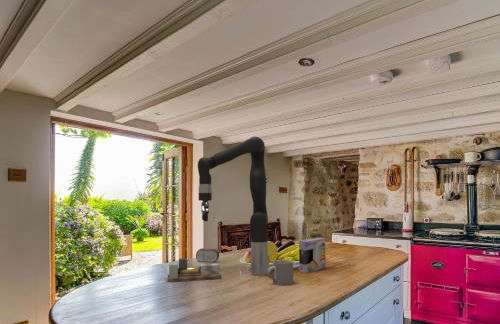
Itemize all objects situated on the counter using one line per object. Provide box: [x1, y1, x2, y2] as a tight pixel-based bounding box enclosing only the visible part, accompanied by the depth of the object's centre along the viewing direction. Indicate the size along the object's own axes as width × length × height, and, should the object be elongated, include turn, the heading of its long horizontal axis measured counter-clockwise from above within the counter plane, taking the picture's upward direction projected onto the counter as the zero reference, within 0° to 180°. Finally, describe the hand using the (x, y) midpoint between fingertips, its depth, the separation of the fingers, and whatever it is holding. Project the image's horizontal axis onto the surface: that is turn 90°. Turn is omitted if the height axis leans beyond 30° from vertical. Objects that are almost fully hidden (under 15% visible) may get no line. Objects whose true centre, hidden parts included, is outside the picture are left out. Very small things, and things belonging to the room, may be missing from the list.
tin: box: [195, 247, 220, 263], centre depth 219 cm, size 15×3×8 cm, turn 84°
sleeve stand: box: [167, 262, 222, 283], centre depth 176 cm, size 26×10×6 cm, turn 104°
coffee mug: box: [266, 259, 294, 286], centre depth 167 cm, size 13×10×10 cm
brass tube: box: [178, 257, 201, 275], centre depth 176 cm, size 17×4×8 cm, turn 104°
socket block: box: [168, 261, 179, 279], centre depth 173 cm, size 4×8×6 cm, turn 14°
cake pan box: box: [298, 236, 326, 274], centre depth 194 cm, size 19×5×18 cm, turn 129°
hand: (204, 220), depth 195 cm, fingers open, 8 cm apart
